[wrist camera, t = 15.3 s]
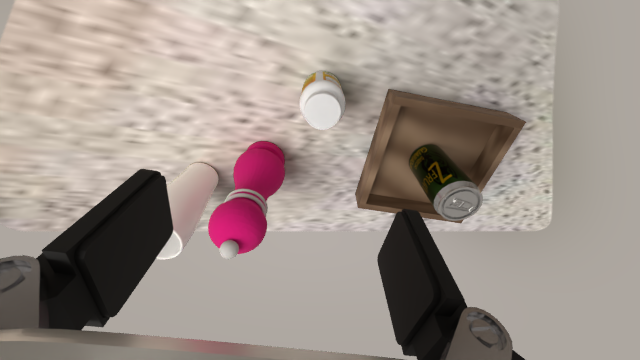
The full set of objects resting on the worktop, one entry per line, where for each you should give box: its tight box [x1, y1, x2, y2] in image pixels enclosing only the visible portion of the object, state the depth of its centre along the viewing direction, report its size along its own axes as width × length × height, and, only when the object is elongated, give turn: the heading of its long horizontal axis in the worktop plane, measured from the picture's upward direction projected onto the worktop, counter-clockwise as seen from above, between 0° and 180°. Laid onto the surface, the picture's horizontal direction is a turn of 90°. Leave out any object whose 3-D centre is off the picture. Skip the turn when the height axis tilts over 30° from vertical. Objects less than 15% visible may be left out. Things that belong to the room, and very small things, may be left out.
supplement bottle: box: [300, 71, 345, 130], centre depth 31 cm, size 5×5×10 cm
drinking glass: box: [156, 163, 218, 259], centre depth 36 cm, size 7×7×15 cm
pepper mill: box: [208, 141, 285, 259], centre depth 32 cm, size 7×7×20 cm
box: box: [355, 89, 526, 223], centre depth 39 cm, size 18×18×4 cm
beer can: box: [409, 144, 483, 221], centre depth 35 cm, size 5×5×12 cm
